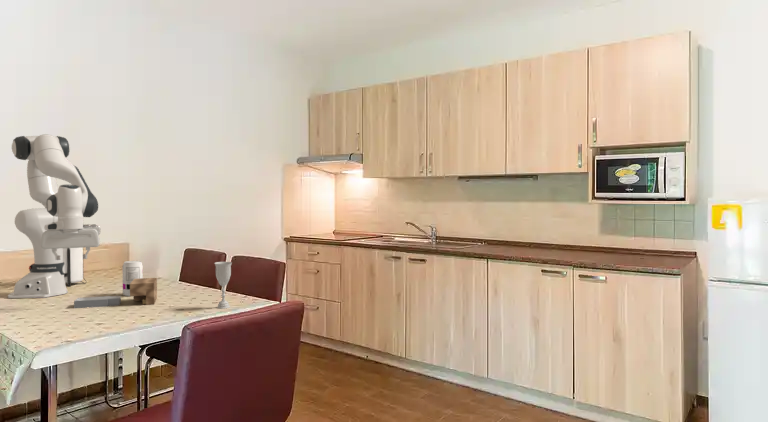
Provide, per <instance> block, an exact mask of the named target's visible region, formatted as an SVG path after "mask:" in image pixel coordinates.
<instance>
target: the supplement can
mask: <svg viewBox="0 0 768 422" xmlns="http://www.w3.org/2000/svg"><path fill="white" fill-rule="evenodd" d="M143 269H144V268H143V263H142V260H128V261H124V262H123V264H122V295H123V296H125V297H131V296H130V283H131V282H132V281H133V280H134V279H140V278H144V276H143V273H144V272H143V271H144V270H143Z"/></svg>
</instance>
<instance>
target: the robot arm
mask: <svg viewBox="0 0 768 422" xmlns="http://www.w3.org/2000/svg"><path fill="white" fill-rule="evenodd" d="M12 140H13V141H12V143H11V150H12V151H11V152H12V154H13V155H14V157H15V158H16V159H18V160H23V161H26V160H27V164H26V165H27V166H26V167H27V168H26V176H27V184H28V190H29V195H30V198H31V199H32V200H33V201H35V202H38V203H39V204H41V205H42V206H43V207H44V208H43V207H42V208H40V207H39V208H27V209H22V210H20V211H18V212H17V213H16V214H15V217H14V226H15V227H16V229H17V230H18V232H20V233H22V234H24V235H25V236H26V237H27V238H28V240H29V241H30V242H31V245H32V248H33V256H34V257H33V259H34V263H32V264H30V265H29V266H28V270H29V271H28V273H27V274H25V275H24V276H22V277H21V278H20V279H19V280H18V281H16V282H15V285H14V287H13V288H14V289H13V292H10V293H8V295H7V299H34V298H35V299H37V298H49V297H55V296H61V295H65V294H67V293H68V292H69V291H68V289H67V286H66V283H65V279H64V273H65V265H64V262H63V248H83V249H84V248H85V254H84V253H83V260H87V259H88V254H89V252H90V251H91V248H98V247H100V245H101V241H100V234H101V227H100V226H99V225H97V224H84V218H91V217H93V216H94V215H95V214H96V213H97V212H98V210H99V202H98V199H97V197H96V196H95V195H94V193H93V192H92V191H91V189H90V187H89V186H88V183H87V182H86V179H85V178H84V176H83V174H82V173H81V171H80V170H79V168H78V167H77V166H76V165H74V164H73V163H71V161H70V160H68V159H67V158H68V157H69V155H70V150H71V147H70V143H69V141H68V139H67V138H66V137H64V136H59V135H57V136H54V135H52V134H46V133H45V134H39V135H28V136H25V135H21V136H16V137H15V138H14V139H12ZM57 179H58V180H63V181H65V182H67V183H69V184H60V185H58V181H57Z"/></svg>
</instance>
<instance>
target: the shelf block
mask: <svg viewBox="0 0 768 422" xmlns="http://www.w3.org/2000/svg"><path fill="white" fill-rule="evenodd" d="M129 297H133V301H135V302H136V301H142V305H146V306H150V305H151V306H154V305H155V303H156V301H157V300H158V278H157V277H143V278H140V279H134V280H133V281H132V282H131V283H130V296H129Z"/></svg>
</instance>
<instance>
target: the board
mask: <svg viewBox="0 0 768 422" xmlns="http://www.w3.org/2000/svg"><path fill="white" fill-rule="evenodd" d="M121 299H122V295H115V296H112V295H105V296H90V297H89V296H88V297H87V296H86V297H77V298H75V300H74V301H73V309H84V308H85V309H86V308H87V307H89V308H104V307H105V308H106V307H111V306H113V307H114V306H120V304H121V303H122V300H121ZM87 309H88V308H87Z"/></svg>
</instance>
